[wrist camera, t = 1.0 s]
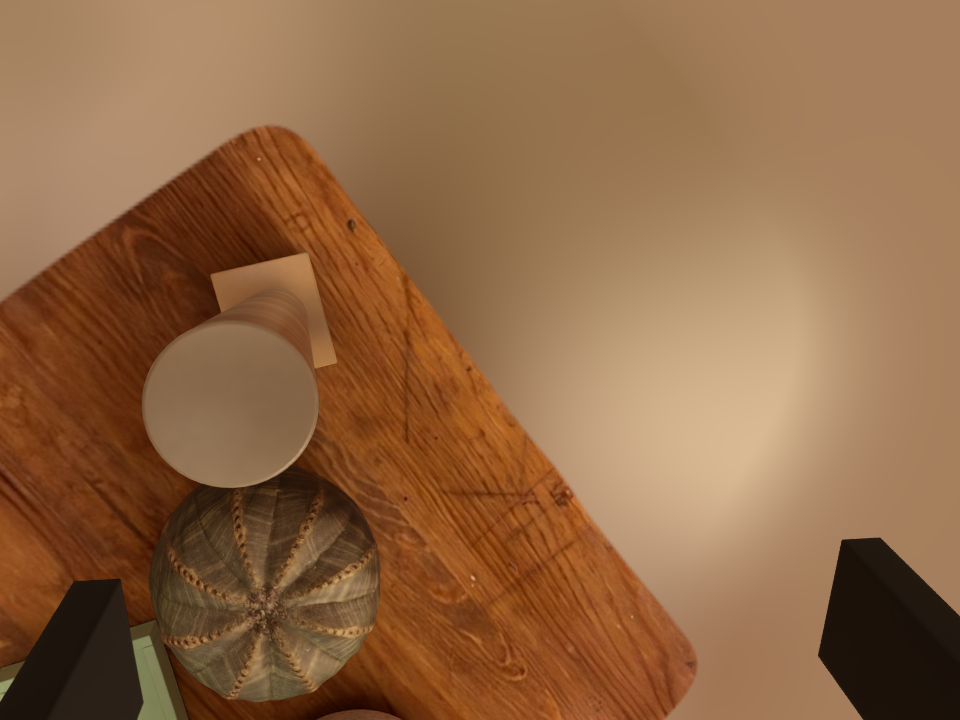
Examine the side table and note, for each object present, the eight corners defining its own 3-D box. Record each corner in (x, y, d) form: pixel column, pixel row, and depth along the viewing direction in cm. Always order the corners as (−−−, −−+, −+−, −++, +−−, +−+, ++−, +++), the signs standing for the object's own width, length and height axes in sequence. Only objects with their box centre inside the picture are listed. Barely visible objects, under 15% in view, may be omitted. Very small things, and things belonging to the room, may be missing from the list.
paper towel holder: (216, 273, 43) (39, 281, 14) (307, 252, 44) (322, 218, 15) (247, 378, 44) (142, 593, 15) (334, 355, 45) (400, 514, 16)
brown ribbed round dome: (398, 567, 47) (431, 664, 35) (226, 656, 45) (202, 790, 34) (319, 407, 45) (326, 455, 33) (136, 494, 43) (76, 577, 31)
